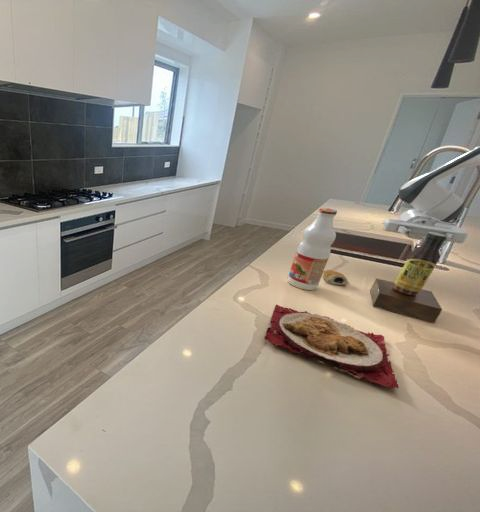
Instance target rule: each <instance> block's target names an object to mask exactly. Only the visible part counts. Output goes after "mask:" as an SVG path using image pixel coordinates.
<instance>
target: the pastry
mask: <svg viewBox="0 0 480 512" xmlns="http://www.w3.org/2000/svg"><path fill="white" fill-rule="evenodd" d="M323 279H324V280H325V283H327V284H330V285H336V286H337V285H338V286H339V285H340V286H345V285H347V284H348V283H349V281H348V278H347V277H346V276H345V275H344V274H343V273H341V272H339V271H334V270H332V269H326V270H324V271H323Z"/></svg>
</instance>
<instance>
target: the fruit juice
mask: <svg viewBox="0 0 480 512" xmlns="http://www.w3.org/2000/svg"><path fill="white" fill-rule="evenodd" d="M337 213H338V210H336V209H334V208H329V207H319V208H318V210H317V216H316V218H315V219H314V221H313V222H312V223H311V224H309V225H308V226H307V227H305V228H304V230H303V232H302V240H301V241H300V242H299V243H298V245H297V249H296V252H295V255H294V257H293V261H292V264H291V267H290V270H289V273H288V275H287V282H288V283H289V284H290V285H291V286H293V287H295V288H298V289H301V290H305V291H306V290H307V291H314V290H316V289H317V288H318V286H319V284H320V282H321V279H322V276H323V275H324V271H325V268H326V266H327V263H328V261H329V258H330V255H331V251H332V248H331V247H332V245H333V243H334V242H335V241H336V238H337V232H336V230H335V228H334V217H336V215H337Z"/></svg>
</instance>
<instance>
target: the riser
mask: <svg viewBox="0 0 480 512" xmlns="http://www.w3.org/2000/svg"><path fill="white" fill-rule="evenodd" d="M394 282H395V281H394ZM394 282H393V281H389V280H386V279H381V278H376V277H375V279H374V281H373V284H372V285H371V288H370V291H369V292H370V297H371V303H372V307H374V308H377V309H380V310H385V311H388V312H391V313H396V314H399V315H403V316H406V317H410V318H414V319H417V320H420V321H424V322H427V323H431V324H435V323H436V321H437V319H438V318H439V316H440V314H441V313H442V310H443V308H442V306H441V305H440V303H439V301H438V299H437V298H436V297H435V295H434V293H433V291H431V290H427V289H423V288H422V289H421V291H420V292H419V293H418V294H417V295H415V296H412V295H407V294H403V293H400V292H398V291H396V290H394V289H393V285H394V284H395V283H394Z"/></svg>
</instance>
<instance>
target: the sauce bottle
mask: <svg viewBox="0 0 480 512" xmlns="http://www.w3.org/2000/svg"><path fill="white" fill-rule="evenodd" d="M446 238H447V236H446V235H443V234H440V233H435V232H428V233H427V235H426V239H423V243H421V245H420V246H418V247H417V248H415V249H413V250H412V252H411V253H410V255H409V256H408V258H407V259H406V261H405V263H404V265H403V266H402V268H401V270H400V271H399V274H398V275H397V277H396V279H395V280H394V283H395V284H394V285H393V289H394V290H396V291H398V292H400V293H403V294H407V295H412V296H415V295H417V294H418V293H419V292H420V291H421V289H423V288H424V286H425V284H426V283H427V281H428V280H429V278H430V276H431V275H432V274H433V272H434V270H435V268H436V266H437V264H438V262H439V260H440V258H441V253H440V249H441V246H442V245H443V243H444V242H446V241H445V240H446Z"/></svg>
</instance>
